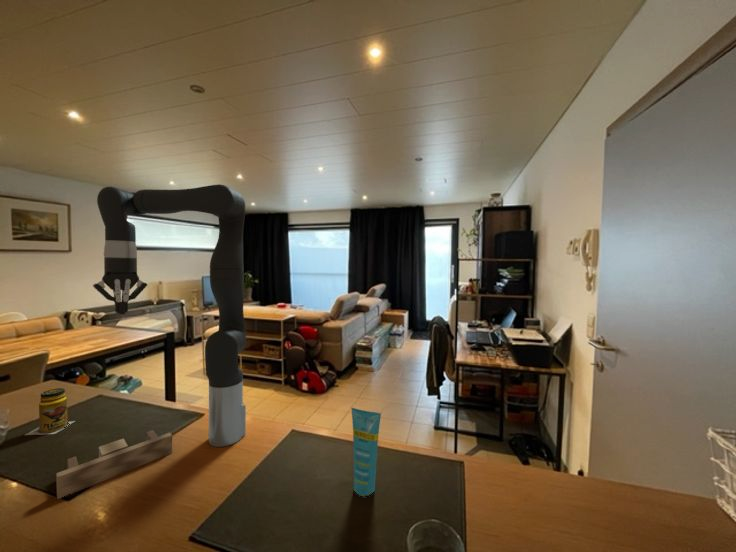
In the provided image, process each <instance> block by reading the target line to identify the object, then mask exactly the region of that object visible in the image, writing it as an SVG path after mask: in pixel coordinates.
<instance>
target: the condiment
mask: <svg viewBox="0 0 736 552" xmlns="http://www.w3.org/2000/svg"><path fill="white" fill-rule="evenodd" d="M38 416H39V417H38V418H39V419H38V424H39V425H38V426H39V427H38V426H37V427H36V428H34V429H33V430H31V431H29V432H27V433H26V434H24V436H32V435H33V436H35V435H38V436H39V435H41V436H42V435H43V436H44V435H55V434H57V433H59V432H61V431H63V430H65V428H64V427H66V426H67V427H69V426H70V425H72V424H73V423H75V422H76V420H72V421H68V398H67V396H66V390H65V388H62V387H58V388H52V389H48V390H44V391H43V392H42V393H40V400H39V404H38ZM67 422H68V423H69V424H70V425H69V424H68V425H69V426H68V425H67ZM67 427H66V428H67Z"/></svg>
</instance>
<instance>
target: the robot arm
mask: <svg viewBox="0 0 736 552" xmlns="http://www.w3.org/2000/svg"><path fill="white" fill-rule="evenodd" d="M96 203H97V207H98V211H99V215H100V216H101V220H102V223H103V225H104V238H105V240H104V248H103V259H104V260H103V262H104V263H103V264H104V265H103V266H104V274H103V276H102V278H101V280H100V281H98V282H96V283H93V284H92V287H93V288H94V289H95V290H97V292H98V293H99V294H101V295H102V296H103V297H104V298H105V299H106V300H107V301H111V302H114V312H115V313H116V314H117V315H118V316H122V315H126V313H128V311H129V302H130V301H131V300H136V298H138V296H139V295H140V294H141V293H142V292H143V291H144V289H146V288H147V286H148V283H147V282H144V281H142V280H140V277H139V275H138V250H137V243H136V241H137V239H136V238H137V237H136V226H135V225H134V224H133V223H132V222H131V221H128V220H127V218H126V216H125V215H128V216H139V215H141V216H142V215H146V214H149V215H150V214H151V215H152V214H153V215H157V214H158V215H164V214H165V215H169V214H176V213H181V212H199V213H204V214H205V213H206V214H210V215H213V216H215V217H217V218H218V229H219V231H218V237H217V238H218V239H217V241H216V244H215V246H214V249H213V252H212V255H211V257H210V262H209V283H210V288H211V289H210V290H211V293H212V295H213V298H214V301H215V303H216V305H217V308H218V318H219V319H218V320H219V321H218V322H219V323H218V329H217V331H214V332H213V333H212V334H210V336H208V338H207V339H206V341H205V346H204V347H205V348H204V362H205V363H204V364H205V374H206V377H207V379H208V443H209V445H211V447H217V448H220V447H221V448H222V447H226V446H227V447H228V446H231V445H233V444H235V443H237V442H239V441H241V439H242V438H243V437H244V436H246V435H247V434H246V431H247V430H246V428H247V427H246V421H247V420H246V419H247V418H246V415H247V414H246V410H247V409H246V404H245V403H244V401H243V398H244V397H243V396H244V395H243V392H244V390H243V389H244V387H243V386H244V383H243V382H244V379H243V378H244V374H243V373H244V372H243V370H242V369H241V368H239V354H241V353H242V352H243V350H244V349H245V348H246V344H247V332H246V326H245V325H246V324H245V316H244V314H245V313H244V295H245V294H244V282H245V279H244V278H245V276H244V275H245V273H244V271H245V270H244V269H245V268H244V227H245V217H246V201H245V199H244V197H243V195H242V194H241V193H240V192H239V191H237V190H235V189H233V188H231V187H229V186H227V185H225V184H212V185H204V186H199V187H194V188H185V189H184V188H183V189H181V188H180V189H150V188H149V189H140V190H139V189H138V190H137V191H135V192H133V191H128V190H126V189H125V190H124V189H121V188H117V187H115V186H106V187H102V188H101V189H100V191H99V192H98V194H97V198H96ZM106 286H107V287H108V289H110V290H112V293H113V295H111V294H110V293H109V292H108V291H107V290H105V288H106ZM134 286H135V287H136V288H135V289H134V290H133V291H132V292H131V293H130V290H131V289H133V287H134Z"/></svg>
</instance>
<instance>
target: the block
mask: <svg viewBox="0 0 736 552" xmlns="http://www.w3.org/2000/svg"><path fill="white" fill-rule="evenodd" d="M128 447H129V446H128V444H127V442H126V440H125V438H120V439H118V440H115V441H112V442H109V443H107V444H102V445H101V446H98V458H100V457H103V456H106V455H108V454H111V453H114V452H117V451H120V450H122V449H125V448H128Z"/></svg>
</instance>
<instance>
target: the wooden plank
mask: <svg viewBox="0 0 736 552" xmlns="http://www.w3.org/2000/svg"><path fill="white" fill-rule="evenodd" d="M170 454H173V434H172V433H171V432H166V433H164V434H161V435H159V436H158V434H157V433H156V432H155V431H154V430H153V429H152V430H149V431H146V440H145V441H142V442H138V443H137V444H134V445H131V446H128V448H125V449H122V450H120V451H117V452H114V453H111V454H108V455H106V456H103V457H100V458H99V457H98V458H95V459H93V460H89V461H87V462H84V463H82V464H79V462H78V459H77V456H73V457H70V458H67V469H64V470H62V471H59V472H56V498H57V500H60V499H62V497H63V498H65V497H67V496H69V495H68V494H70V495H73V494H75V493H77V492H80V491H82V490H84V489H87V488H90V487H92V486H95V485H96V484H98V483H99V484H100V483H103V482H104V481H107V480H109V479H111V478H114V477H116V476H119V475H120V474H121V475H122V474H124V473H127V472H129V471H132V470H133V469H134V470H135V469H136V468H139V467H140V466H141V467H142V466H144V465H147V464H149V463H150V462H153V461H156V460H158V459H160V458H163V457H166V456H168V455H170ZM74 492H75V493H74ZM66 495H67V496H66ZM64 496H65V497H64Z"/></svg>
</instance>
